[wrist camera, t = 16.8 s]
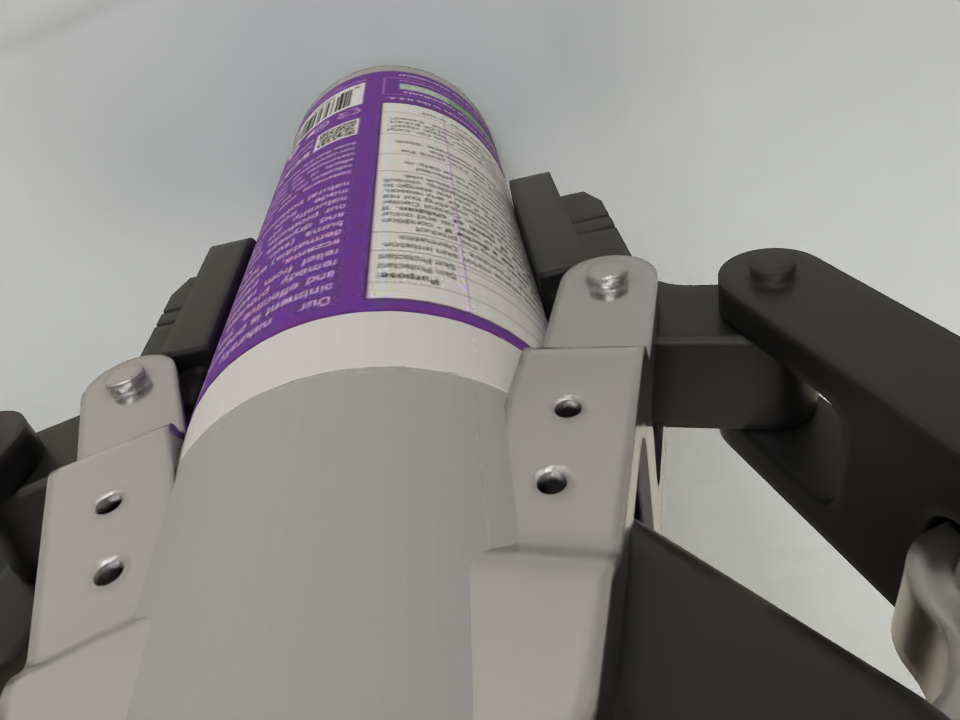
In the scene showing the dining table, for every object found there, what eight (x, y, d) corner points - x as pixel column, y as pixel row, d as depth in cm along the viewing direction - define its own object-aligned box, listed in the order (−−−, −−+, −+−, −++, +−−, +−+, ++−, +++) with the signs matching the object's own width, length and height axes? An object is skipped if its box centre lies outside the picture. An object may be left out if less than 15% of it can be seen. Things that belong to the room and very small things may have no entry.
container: (325, 275, 18) (170, 1126, 6) (265, 85, 16) (-226, 938, 3) (508, 242, 18) (720, 1042, 6) (480, 45, 16) (758, 777, 3)
